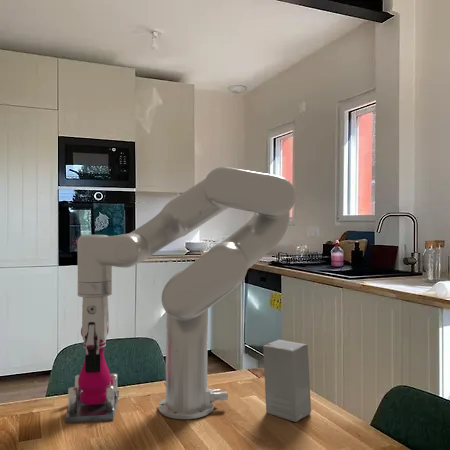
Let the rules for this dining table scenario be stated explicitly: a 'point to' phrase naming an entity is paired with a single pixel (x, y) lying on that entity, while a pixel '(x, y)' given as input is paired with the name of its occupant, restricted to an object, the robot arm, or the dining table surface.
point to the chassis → (92, 412)
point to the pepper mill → (94, 380)
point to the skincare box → (287, 379)
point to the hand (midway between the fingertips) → (94, 366)
